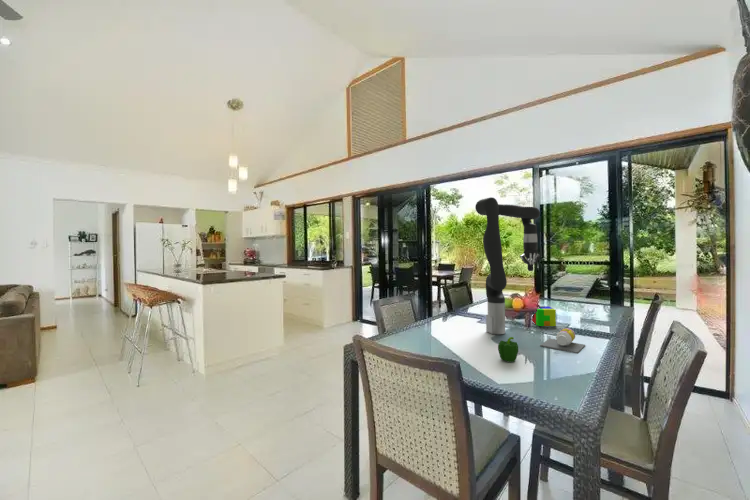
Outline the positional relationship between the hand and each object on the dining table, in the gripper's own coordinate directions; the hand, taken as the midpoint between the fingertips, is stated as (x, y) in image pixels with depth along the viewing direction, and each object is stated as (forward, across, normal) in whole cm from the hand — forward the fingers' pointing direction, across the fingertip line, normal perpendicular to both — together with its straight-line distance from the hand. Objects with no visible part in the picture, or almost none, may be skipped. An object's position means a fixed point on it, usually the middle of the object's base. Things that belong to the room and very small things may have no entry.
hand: (530, 270), depth 199 cm
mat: (+33, -8, -36) cm, 49 cm away
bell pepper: (+33, -44, -46) cm, 72 cm away
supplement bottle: (+29, -1, -31) cm, 42 cm away
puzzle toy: (+33, +10, +2) cm, 35 cm away
